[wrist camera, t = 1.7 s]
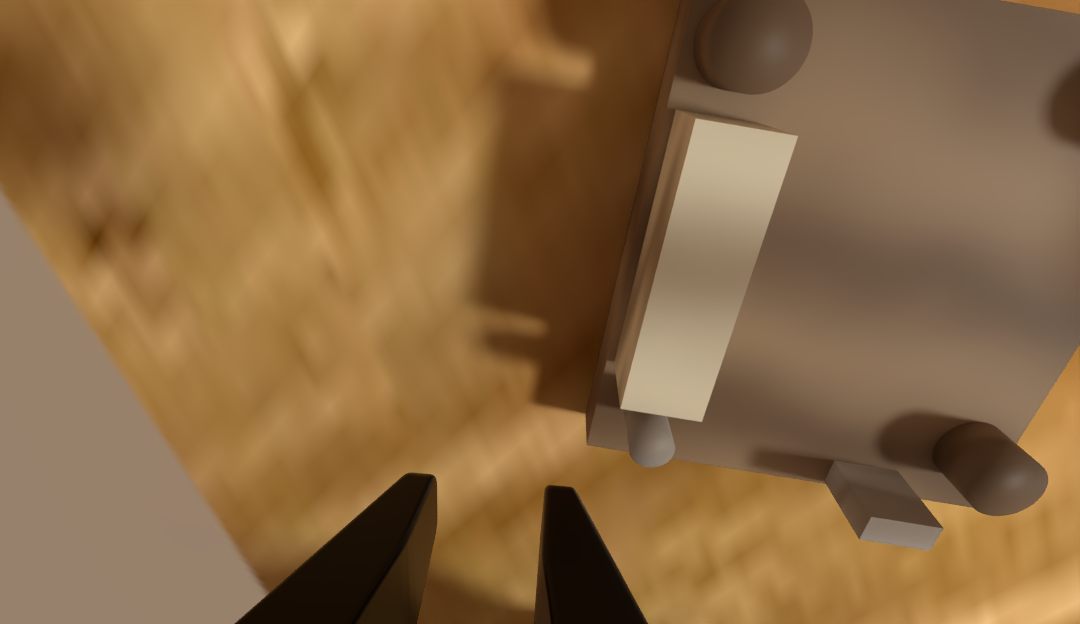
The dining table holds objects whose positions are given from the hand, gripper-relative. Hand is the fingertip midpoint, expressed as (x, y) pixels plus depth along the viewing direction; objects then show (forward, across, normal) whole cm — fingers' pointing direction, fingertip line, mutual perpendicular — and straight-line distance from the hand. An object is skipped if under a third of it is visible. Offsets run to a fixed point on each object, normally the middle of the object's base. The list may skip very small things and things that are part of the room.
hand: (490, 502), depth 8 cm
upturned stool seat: (+13, -10, 0) cm, 17 cm away
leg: (+11, -5, 0) cm, 12 cm away
